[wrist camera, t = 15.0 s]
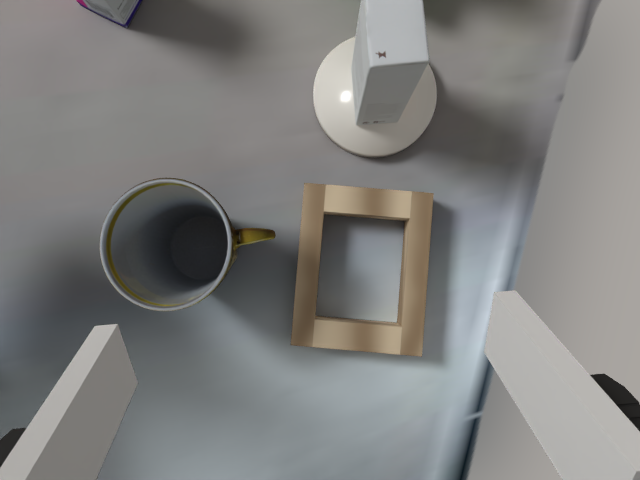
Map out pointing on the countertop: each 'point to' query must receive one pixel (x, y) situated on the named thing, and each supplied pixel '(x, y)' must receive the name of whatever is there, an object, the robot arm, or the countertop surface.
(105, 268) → the ceramic cup
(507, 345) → the robot arm
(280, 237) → the countertop surface
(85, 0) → the supplement box
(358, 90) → the skincare box
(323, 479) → the countertop surface
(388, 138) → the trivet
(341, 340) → the block
